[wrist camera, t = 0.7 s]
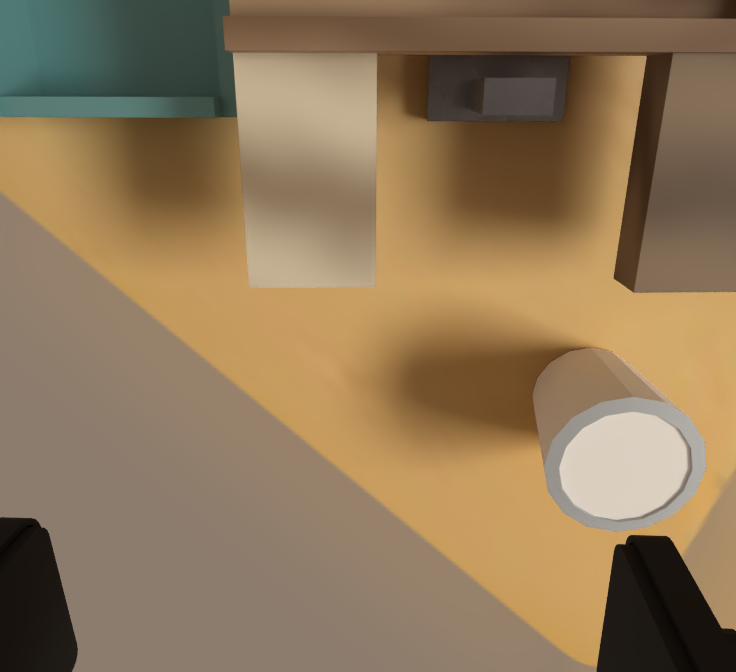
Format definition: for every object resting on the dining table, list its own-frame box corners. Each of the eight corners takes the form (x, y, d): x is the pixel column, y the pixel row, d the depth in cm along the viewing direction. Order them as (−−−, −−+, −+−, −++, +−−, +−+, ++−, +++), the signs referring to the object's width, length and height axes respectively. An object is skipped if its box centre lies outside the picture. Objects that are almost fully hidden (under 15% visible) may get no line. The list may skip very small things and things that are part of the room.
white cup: (499, 425, 35) (518, 502, 28) (556, 317, 32) (591, 374, 26) (611, 467, 35) (655, 553, 29) (677, 364, 33) (741, 432, 26)
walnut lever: (221, -186, 20) (193, -248, 16) (831, -176, 21) (937, -234, 17) (252, 280, 26) (237, 313, 22) (731, 277, 26) (794, 308, 23)
